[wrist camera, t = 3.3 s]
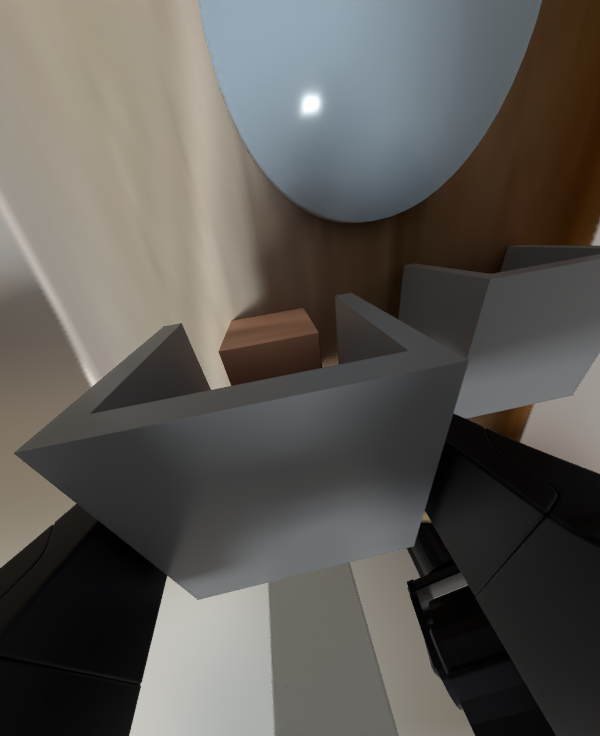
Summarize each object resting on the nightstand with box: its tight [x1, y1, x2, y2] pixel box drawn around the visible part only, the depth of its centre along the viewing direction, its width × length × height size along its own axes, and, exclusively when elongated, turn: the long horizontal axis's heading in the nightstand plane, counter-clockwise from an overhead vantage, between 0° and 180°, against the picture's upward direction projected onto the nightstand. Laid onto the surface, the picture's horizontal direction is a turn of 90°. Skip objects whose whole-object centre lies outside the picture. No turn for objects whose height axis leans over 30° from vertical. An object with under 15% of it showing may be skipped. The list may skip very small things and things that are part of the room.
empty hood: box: [399, 245, 600, 419], centre depth 11 cm, size 7×7×5 cm
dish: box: [198, 0, 542, 223], centre depth 7 cm, size 11×11×1 cm
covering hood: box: [14, 293, 469, 600], centre depth 7 cm, size 7×7×5 cm
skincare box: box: [268, 562, 399, 736], centre depth 16 cm, size 8×6×15 cm
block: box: [219, 308, 322, 386], centre depth 11 cm, size 4×4×4 cm
